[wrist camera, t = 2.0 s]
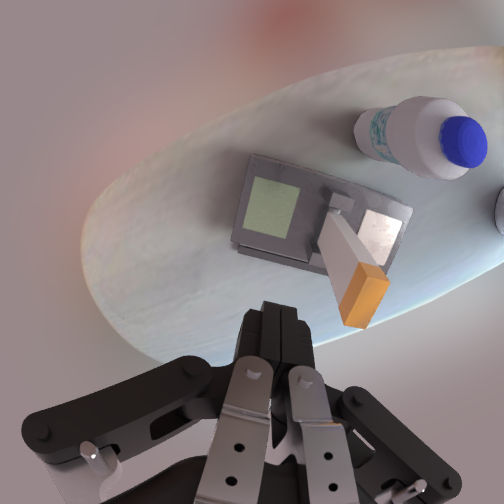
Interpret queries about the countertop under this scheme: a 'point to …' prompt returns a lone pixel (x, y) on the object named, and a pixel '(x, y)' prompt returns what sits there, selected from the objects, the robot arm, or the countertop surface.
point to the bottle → (423, 137)
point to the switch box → (313, 212)
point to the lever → (351, 271)
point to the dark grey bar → (280, 258)
